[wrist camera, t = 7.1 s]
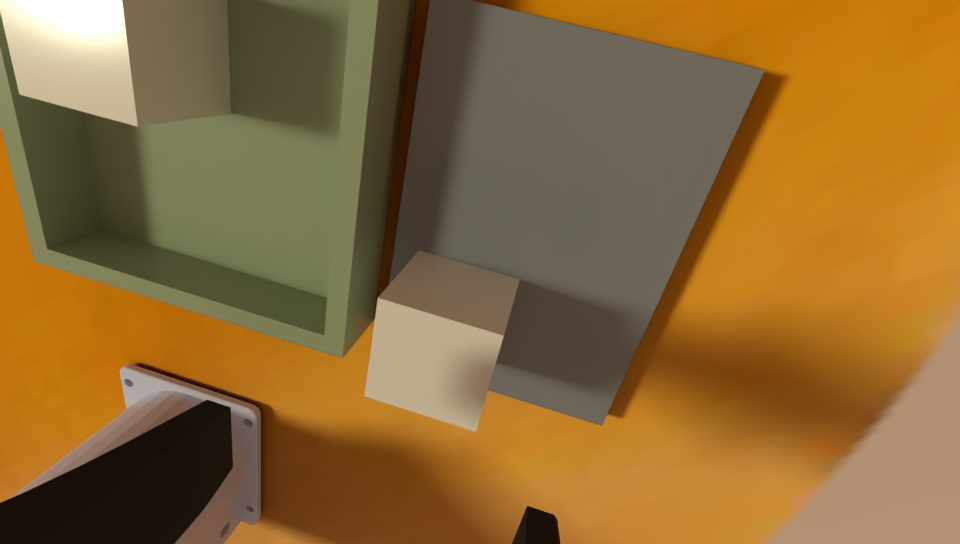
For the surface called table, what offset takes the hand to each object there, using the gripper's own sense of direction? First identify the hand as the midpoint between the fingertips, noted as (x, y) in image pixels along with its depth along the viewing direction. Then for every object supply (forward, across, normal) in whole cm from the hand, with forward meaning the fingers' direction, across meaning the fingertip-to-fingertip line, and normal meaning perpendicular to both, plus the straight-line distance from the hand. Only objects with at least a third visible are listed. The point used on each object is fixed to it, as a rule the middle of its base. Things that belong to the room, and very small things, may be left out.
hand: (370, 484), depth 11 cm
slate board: (+9, -2, -4) cm, 10 cm away
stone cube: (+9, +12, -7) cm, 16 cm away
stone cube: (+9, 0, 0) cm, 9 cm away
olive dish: (+9, +10, -4) cm, 15 cm away
